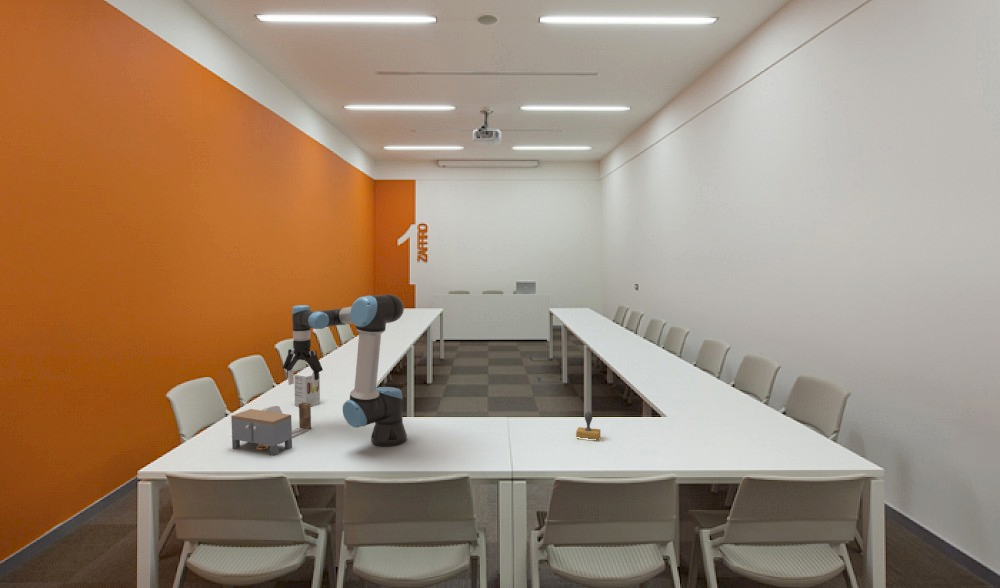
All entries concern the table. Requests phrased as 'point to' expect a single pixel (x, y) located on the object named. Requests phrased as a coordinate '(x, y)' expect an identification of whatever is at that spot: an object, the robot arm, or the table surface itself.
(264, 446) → the copper disc
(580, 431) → the rubber stamp
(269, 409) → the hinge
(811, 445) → the table surface
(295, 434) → the wooden block bookend
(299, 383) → the supplement box
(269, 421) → the low cabinet
